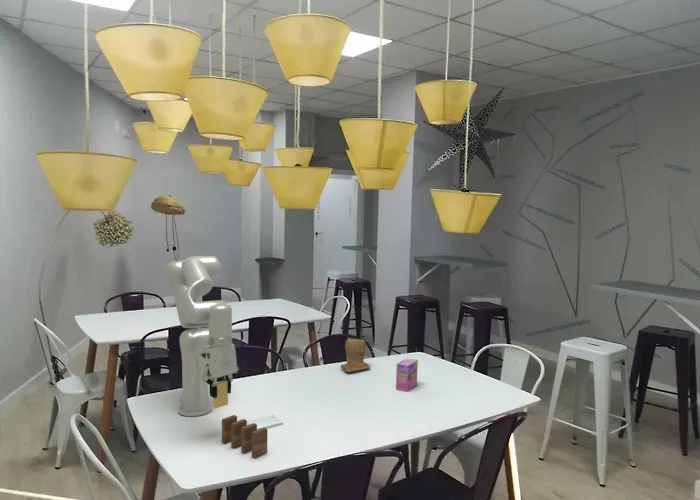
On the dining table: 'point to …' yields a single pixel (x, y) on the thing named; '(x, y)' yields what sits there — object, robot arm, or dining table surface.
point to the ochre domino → (221, 394)
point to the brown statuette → (355, 355)
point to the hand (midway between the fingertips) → (220, 394)
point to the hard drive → (266, 422)
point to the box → (406, 374)
